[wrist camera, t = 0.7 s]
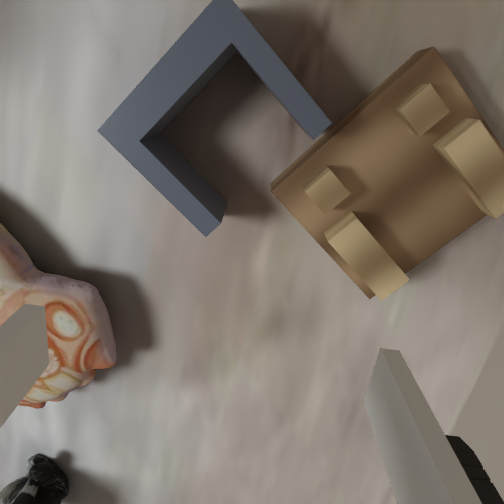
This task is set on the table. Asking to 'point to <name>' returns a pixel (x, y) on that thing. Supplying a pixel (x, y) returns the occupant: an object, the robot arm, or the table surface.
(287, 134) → the table surface
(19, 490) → the figurine
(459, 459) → the robot arm
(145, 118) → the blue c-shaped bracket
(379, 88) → the stand
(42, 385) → the sculpture
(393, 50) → the table surface
